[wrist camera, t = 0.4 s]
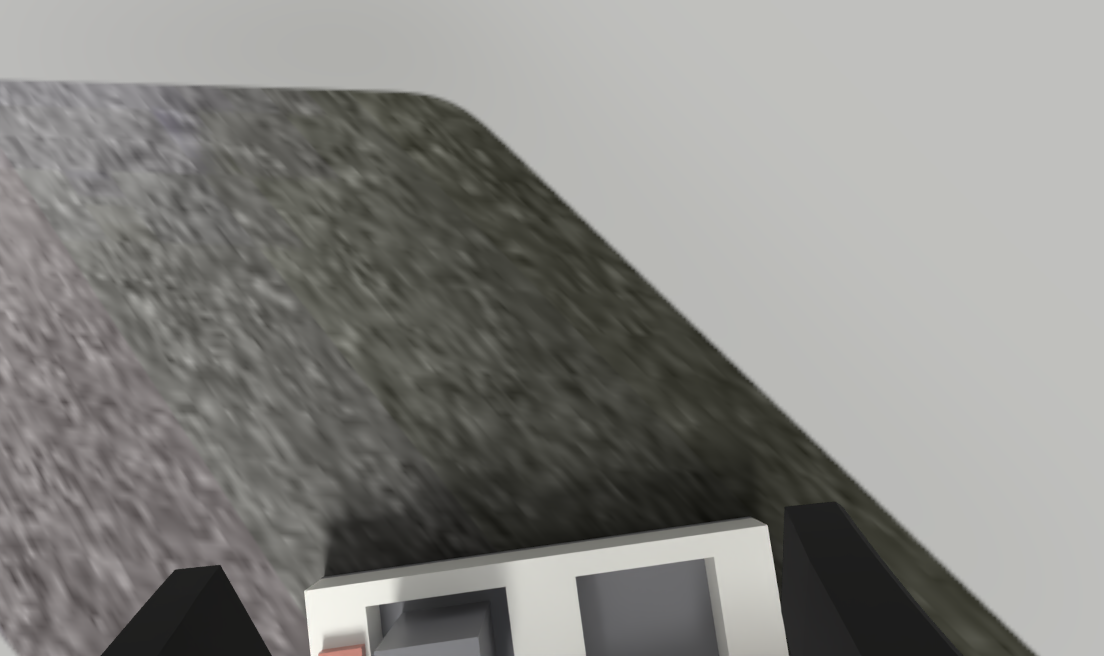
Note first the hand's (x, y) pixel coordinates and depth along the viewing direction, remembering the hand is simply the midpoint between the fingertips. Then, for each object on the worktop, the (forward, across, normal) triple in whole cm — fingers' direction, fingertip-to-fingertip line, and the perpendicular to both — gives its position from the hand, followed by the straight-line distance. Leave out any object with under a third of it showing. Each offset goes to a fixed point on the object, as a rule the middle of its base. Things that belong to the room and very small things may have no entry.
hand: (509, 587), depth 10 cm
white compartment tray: (+16, +3, +24) cm, 28 cm away
